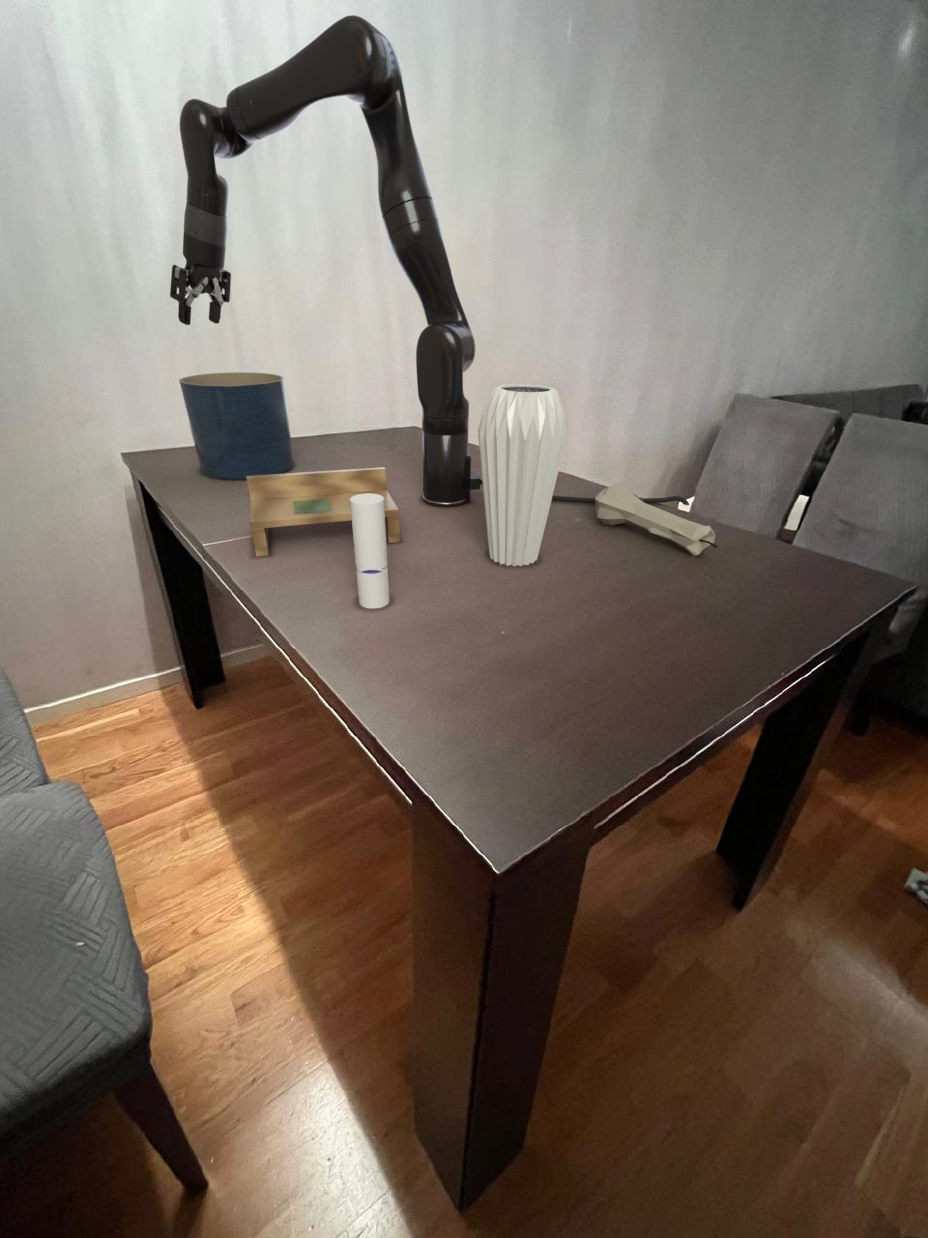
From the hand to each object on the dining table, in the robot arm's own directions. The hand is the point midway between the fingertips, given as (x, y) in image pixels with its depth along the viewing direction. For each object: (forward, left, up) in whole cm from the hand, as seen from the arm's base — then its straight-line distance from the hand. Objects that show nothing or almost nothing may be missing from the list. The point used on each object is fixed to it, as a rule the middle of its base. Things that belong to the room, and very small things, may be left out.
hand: (199, 322), depth 116 cm
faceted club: (-75, +65, -31) cm, 104 cm away
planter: (-5, 0, -31) cm, 32 cm away
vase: (-48, +66, -31) cm, 87 cm away
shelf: (-19, +49, -31) cm, 61 cm away
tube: (-23, +75, -31) cm, 84 cm away
